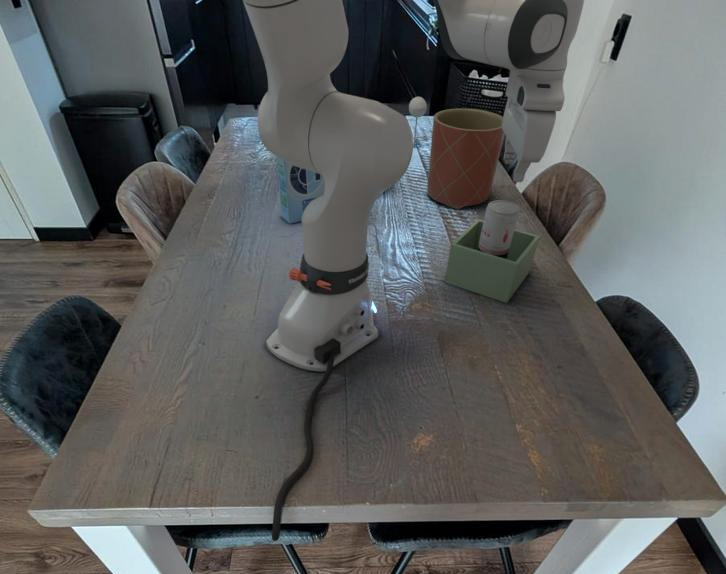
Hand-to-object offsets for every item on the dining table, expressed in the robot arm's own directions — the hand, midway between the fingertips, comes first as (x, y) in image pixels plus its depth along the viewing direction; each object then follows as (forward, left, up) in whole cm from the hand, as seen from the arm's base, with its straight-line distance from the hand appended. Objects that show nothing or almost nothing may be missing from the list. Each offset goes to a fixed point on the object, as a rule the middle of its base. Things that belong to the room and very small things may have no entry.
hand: (512, 171), depth 91 cm
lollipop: (+67, +54, -23) cm, 89 cm away
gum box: (+5, +51, -23) cm, 56 cm away
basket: (0, 0, -23) cm, 23 cm away
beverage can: (0, 0, -22) cm, 22 cm away
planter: (+37, +24, -23) cm, 50 cm away
